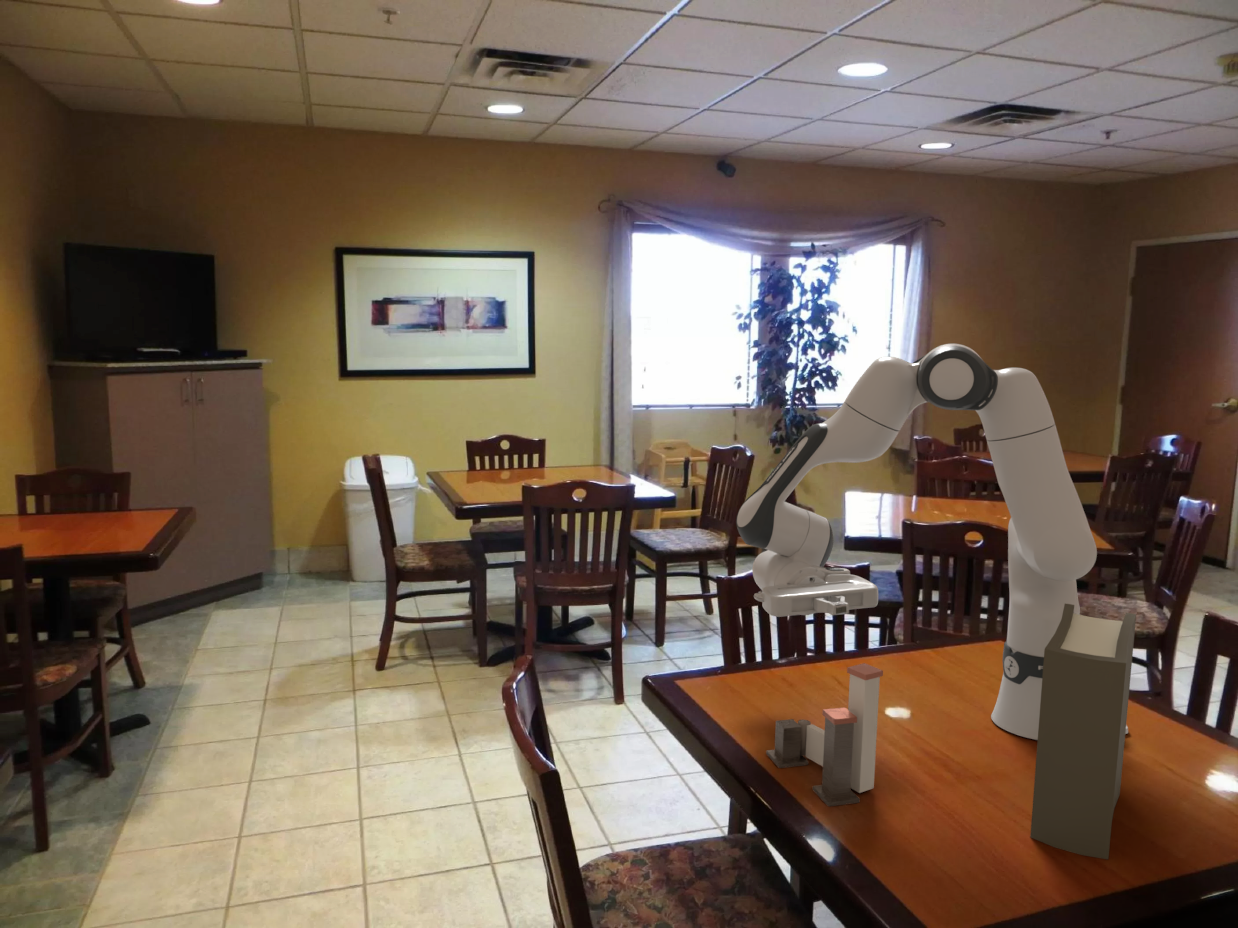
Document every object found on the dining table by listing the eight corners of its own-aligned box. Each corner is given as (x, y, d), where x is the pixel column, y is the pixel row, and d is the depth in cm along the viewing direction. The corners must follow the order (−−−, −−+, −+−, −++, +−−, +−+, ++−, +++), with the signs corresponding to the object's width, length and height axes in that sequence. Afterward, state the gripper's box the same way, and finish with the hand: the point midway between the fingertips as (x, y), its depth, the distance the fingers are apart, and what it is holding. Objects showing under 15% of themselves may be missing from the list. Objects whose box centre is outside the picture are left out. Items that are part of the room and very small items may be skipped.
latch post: (842, 785, 133) (846, 705, 132) (859, 802, 129) (864, 718, 127) (812, 789, 132) (816, 707, 131) (828, 806, 127) (832, 721, 126)
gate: (876, 788, 132) (883, 670, 130) (859, 794, 130) (865, 675, 128) (806, 749, 144) (811, 641, 142) (790, 754, 143) (794, 645, 140)
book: (1107, 866, 115) (1126, 660, 110) (1029, 843, 120) (1044, 646, 115) (1119, 793, 132) (1136, 614, 128) (1051, 776, 137) (1064, 603, 133)
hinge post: (794, 750, 145) (795, 715, 144) (808, 764, 140) (809, 728, 139) (766, 753, 144) (767, 718, 143) (779, 767, 139) (780, 731, 138)
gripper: (749, 576, 156) (783, 596, 143) (854, 567, 161) (895, 586, 148) (750, 611, 157) (783, 634, 144) (853, 600, 162) (895, 622, 149)
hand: (841, 609), depth 146 cm, fingers closed
